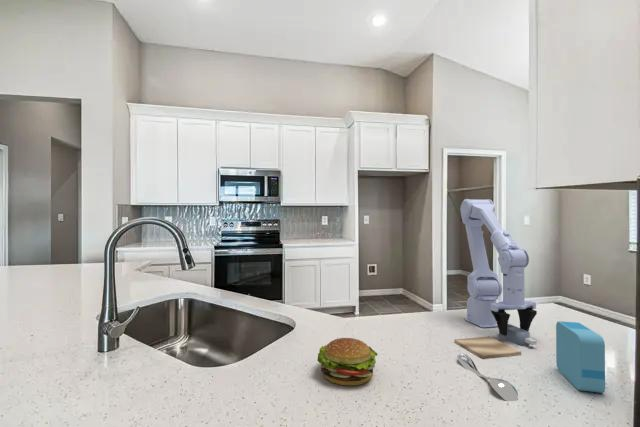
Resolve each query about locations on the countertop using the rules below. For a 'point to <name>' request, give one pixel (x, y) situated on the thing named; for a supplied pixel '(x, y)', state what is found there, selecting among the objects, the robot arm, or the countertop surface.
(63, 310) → the countertop surface
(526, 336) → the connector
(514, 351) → the cork pad
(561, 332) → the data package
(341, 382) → the food
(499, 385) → the silver spoon
